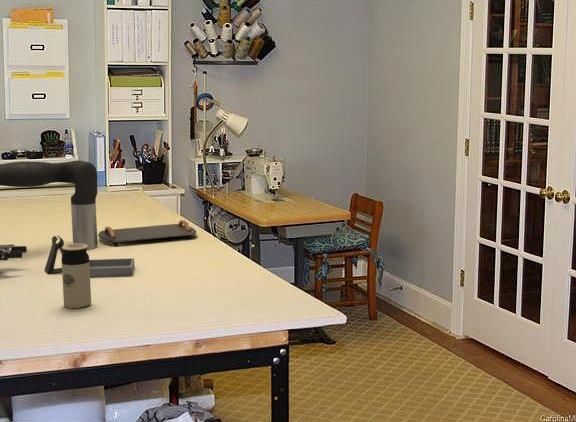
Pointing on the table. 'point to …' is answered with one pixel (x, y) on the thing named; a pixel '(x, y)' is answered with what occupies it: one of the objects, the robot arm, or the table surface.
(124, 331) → the table surface
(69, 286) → the travel mug
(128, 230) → the serving board
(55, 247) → the phone stand
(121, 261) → the tray
